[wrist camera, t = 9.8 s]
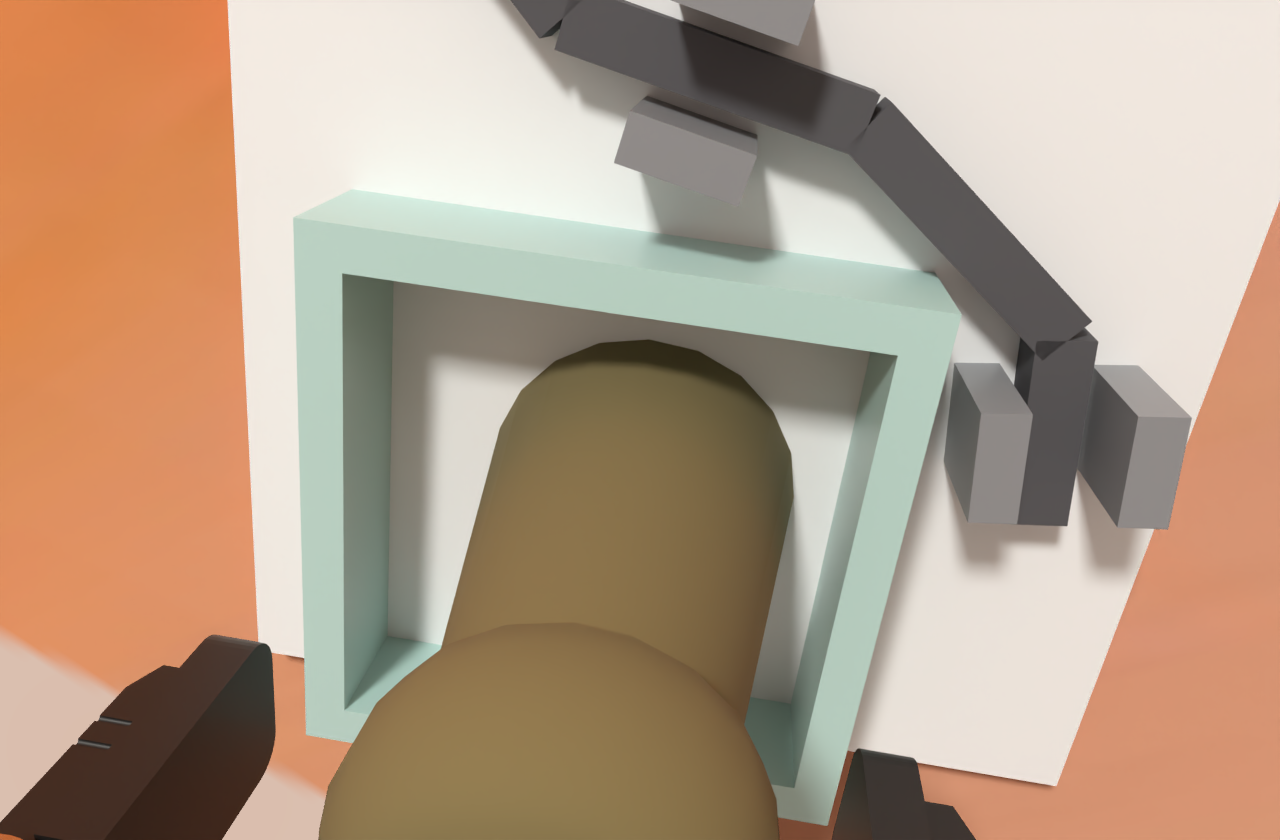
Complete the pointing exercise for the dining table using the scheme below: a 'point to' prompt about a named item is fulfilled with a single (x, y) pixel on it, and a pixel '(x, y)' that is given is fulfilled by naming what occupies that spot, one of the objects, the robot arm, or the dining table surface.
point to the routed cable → (905, 171)
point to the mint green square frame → (627, 285)
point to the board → (807, 224)
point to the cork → (595, 622)
